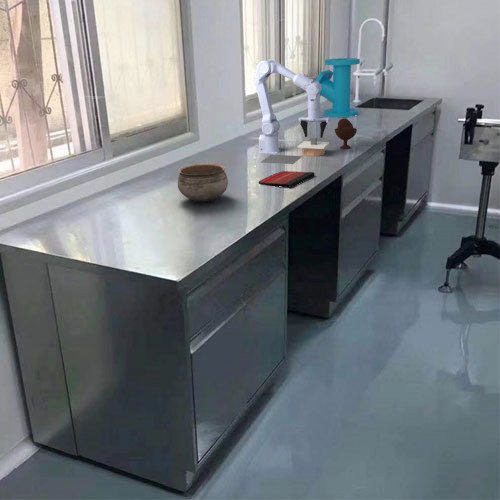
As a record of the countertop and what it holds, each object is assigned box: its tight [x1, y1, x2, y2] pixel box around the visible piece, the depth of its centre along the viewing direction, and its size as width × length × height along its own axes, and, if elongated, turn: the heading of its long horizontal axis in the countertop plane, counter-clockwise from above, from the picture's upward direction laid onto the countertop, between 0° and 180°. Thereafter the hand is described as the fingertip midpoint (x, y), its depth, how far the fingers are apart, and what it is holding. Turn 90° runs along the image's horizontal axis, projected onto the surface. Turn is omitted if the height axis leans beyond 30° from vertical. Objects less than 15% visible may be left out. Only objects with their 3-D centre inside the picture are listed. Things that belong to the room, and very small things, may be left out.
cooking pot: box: [177, 162, 229, 204], centre depth 219 cm, size 25×19×12 cm
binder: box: [258, 170, 315, 189], centre depth 243 cm, size 16×2×21 cm
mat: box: [260, 154, 303, 165], centre depth 275 cm, size 16×16×1 cm
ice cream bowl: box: [334, 117, 358, 150], centre depth 292 cm, size 11×11×15 cm
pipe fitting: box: [315, 57, 361, 118], centre depth 384 cm, size 22×32×35 cm
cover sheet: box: [296, 137, 331, 149], centre depth 281 cm, size 13×13×4 cm
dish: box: [302, 147, 326, 157], centre depth 283 cm, size 10×10×4 cm
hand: (313, 137), depth 280 cm, fingers open, 7 cm apart
